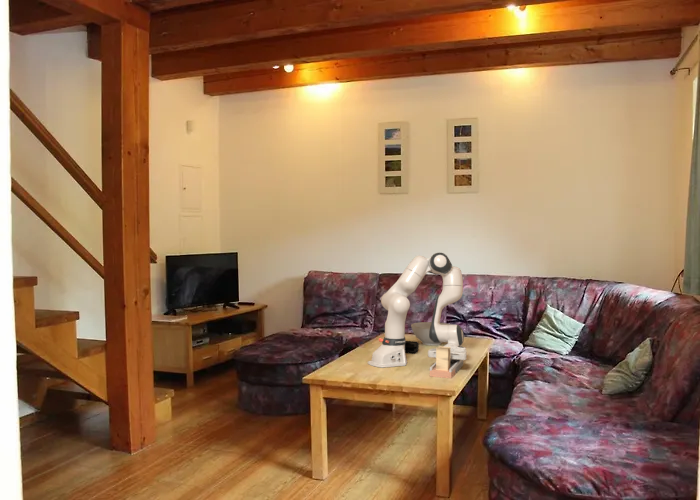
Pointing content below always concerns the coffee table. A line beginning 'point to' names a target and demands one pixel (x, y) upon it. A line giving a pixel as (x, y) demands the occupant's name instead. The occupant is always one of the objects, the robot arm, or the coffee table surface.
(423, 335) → the decorative bowl
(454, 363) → the lane
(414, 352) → the end cap
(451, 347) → the robot arm
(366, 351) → the coffee table surface
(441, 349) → the block
